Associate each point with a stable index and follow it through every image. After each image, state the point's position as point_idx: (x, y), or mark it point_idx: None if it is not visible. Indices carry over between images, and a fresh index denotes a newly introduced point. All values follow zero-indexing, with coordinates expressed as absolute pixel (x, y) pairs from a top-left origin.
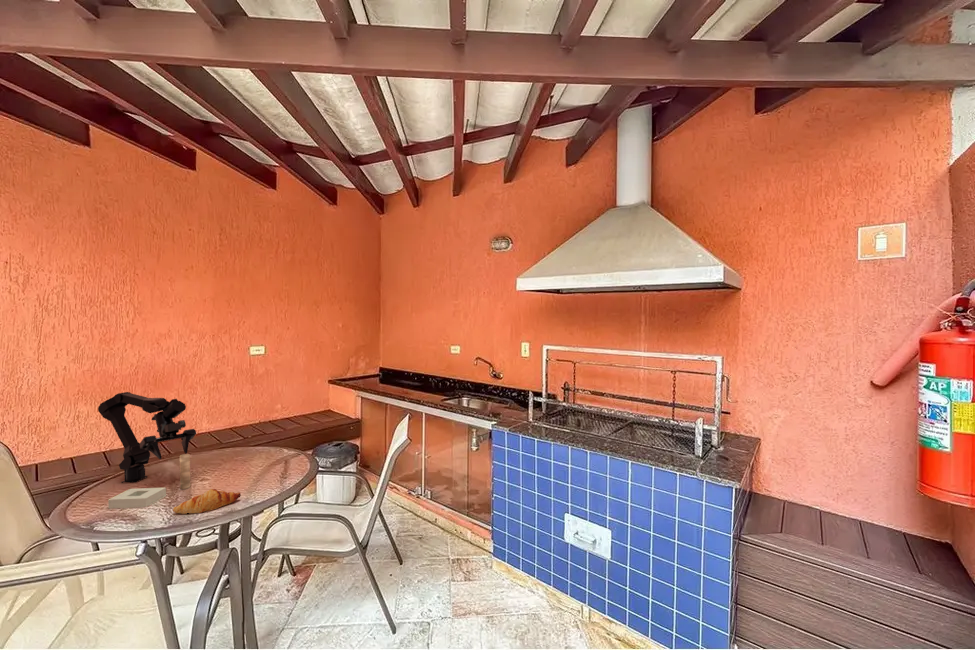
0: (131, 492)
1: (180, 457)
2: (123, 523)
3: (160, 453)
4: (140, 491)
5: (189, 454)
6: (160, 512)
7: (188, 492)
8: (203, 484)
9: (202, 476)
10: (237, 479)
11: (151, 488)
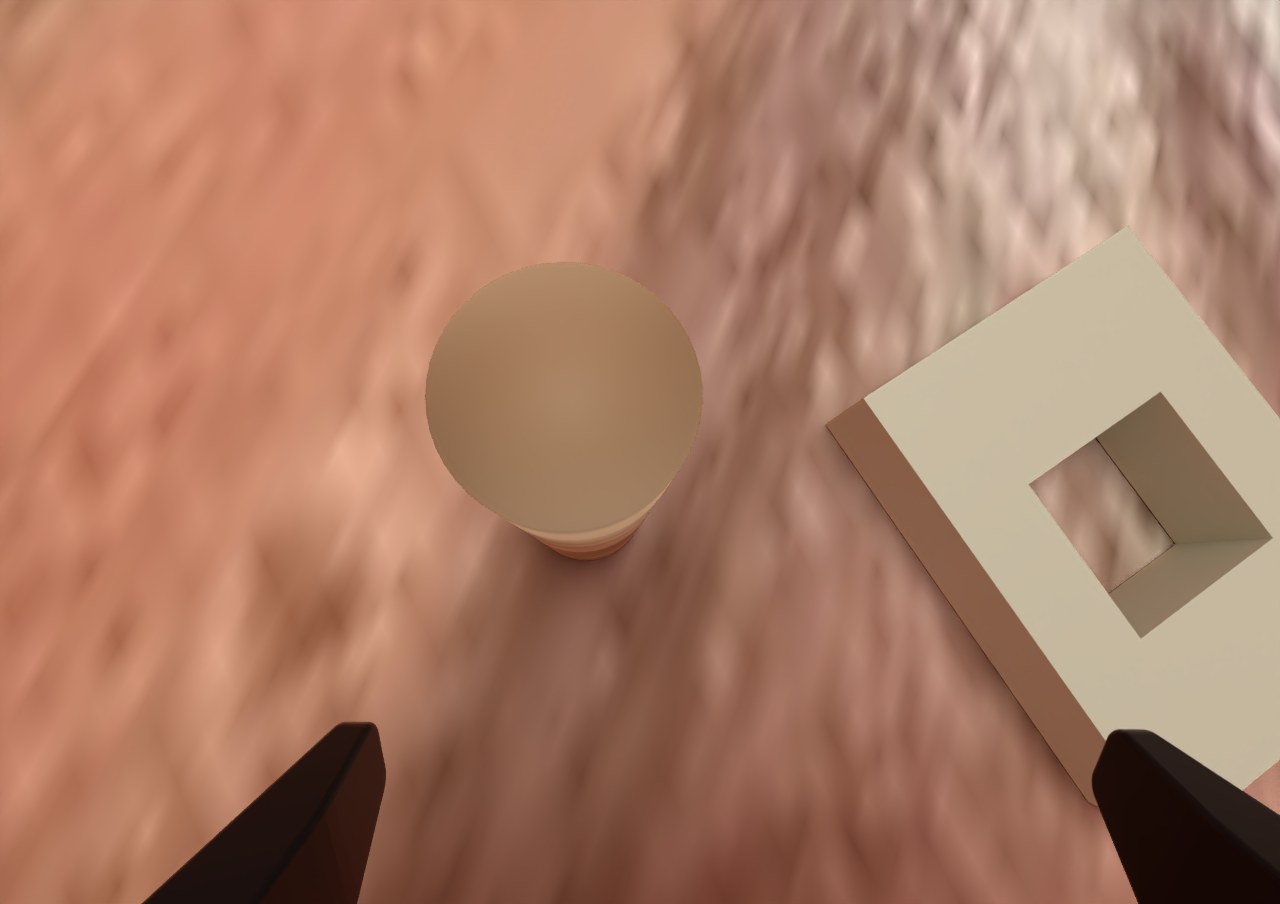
0: (1200, 639)
1: (692, 375)
2: (1271, 71)
3: (1264, 862)
4: (1101, 594)
5: (450, 332)
6: (1005, 22)
7: None
8: (411, 415)
9: (236, 782)
10: (108, 190)
11: (992, 550)
